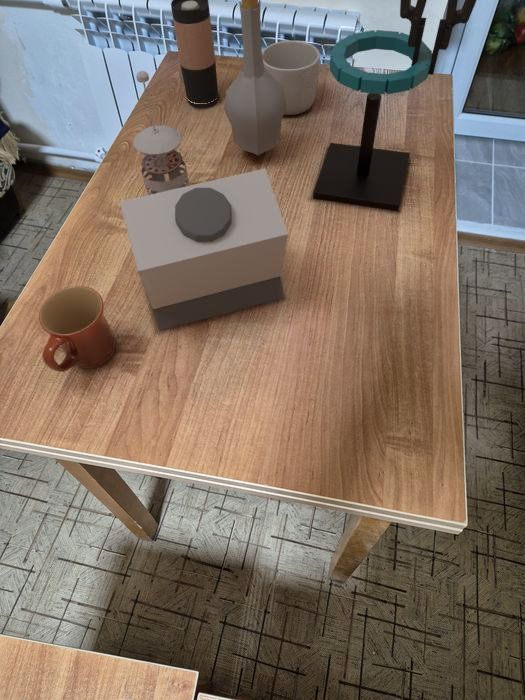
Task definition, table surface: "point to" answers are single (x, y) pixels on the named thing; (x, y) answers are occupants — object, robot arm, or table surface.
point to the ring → (376, 81)
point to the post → (363, 169)
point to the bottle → (254, 91)
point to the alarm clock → (208, 247)
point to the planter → (294, 72)
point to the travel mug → (196, 50)
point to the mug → (76, 329)
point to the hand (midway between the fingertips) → (422, 68)
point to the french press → (160, 154)
